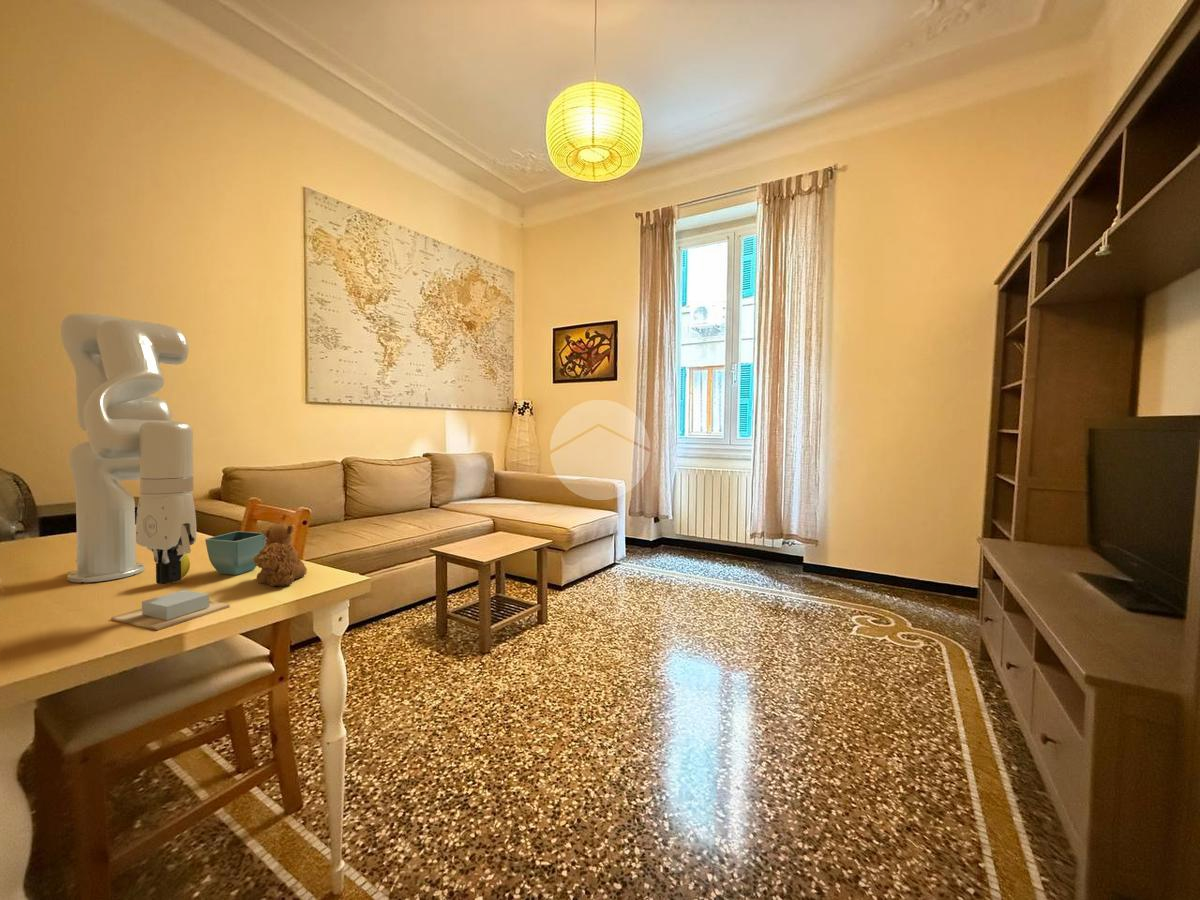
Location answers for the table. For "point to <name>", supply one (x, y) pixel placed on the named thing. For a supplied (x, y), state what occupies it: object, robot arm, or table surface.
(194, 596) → the tile
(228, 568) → the flower pot
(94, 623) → the table surface
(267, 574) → the brown fuzzy figure
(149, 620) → the cork mat
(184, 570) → the lemon
